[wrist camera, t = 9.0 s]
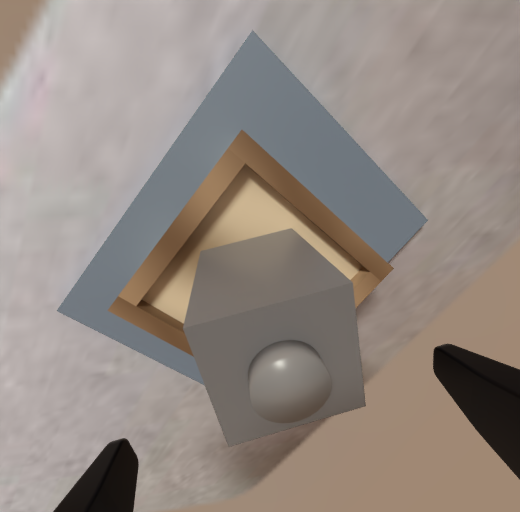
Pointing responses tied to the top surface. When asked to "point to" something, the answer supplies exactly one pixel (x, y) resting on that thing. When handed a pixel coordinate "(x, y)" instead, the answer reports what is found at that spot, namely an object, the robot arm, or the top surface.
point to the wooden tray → (238, 237)
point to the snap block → (273, 335)
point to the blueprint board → (205, 158)
